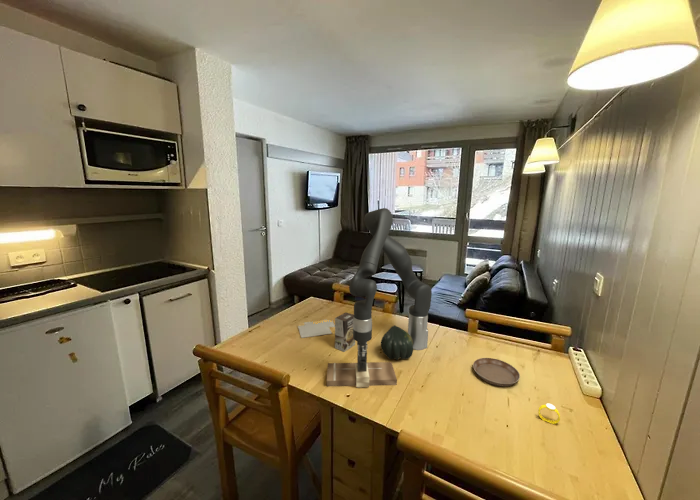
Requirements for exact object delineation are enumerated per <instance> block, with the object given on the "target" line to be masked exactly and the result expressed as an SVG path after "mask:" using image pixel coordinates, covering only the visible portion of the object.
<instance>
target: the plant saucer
mask: <svg viewBox="0 0 700 500" xmlns="http://www.w3.org/2000/svg"><path fill="white" fill-rule="evenodd" d="M472 363H473V364H472V367H473V369H474V371H475V373H476V374H477V376H478V377H479V378H480V379H481V380H483V381H484V382H486V383H488V384H491V385H493V386H497V387H509V386H512V385H514V384H516V383H517V382H518V381H520V377H521V376H520V373H519V370H517V368H515V366H513V365H512V364H510V363H508V362H506V361H504V360H501V359H498V358H491V357H481V358H477V359H476V360H474V361H473V362H472Z"/></svg>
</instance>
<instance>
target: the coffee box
mask: <svg viewBox="0 0 700 500" xmlns="http://www.w3.org/2000/svg"><path fill="white" fill-rule="evenodd" d="M353 319H354V313H350V312H344V313H342V314H340V315H338V316H336V317H334V325H335V327H334V348H335V350H339V351H341V352H344V353H345V352H346V351H348V350H350V349H351V348H353V347H354V346H356V340H354V338H353Z"/></svg>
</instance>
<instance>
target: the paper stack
mask: <svg viewBox="0 0 700 500" xmlns="http://www.w3.org/2000/svg"><path fill="white" fill-rule="evenodd" d="M313 321H314V320H313ZM313 321H312V322H311V321H304V322H303V324H304V325H303V324H302V325H298V326H297V328H298V330H299V331H298V332H299V335H300V337H301V339H302V338H304V339H305V338H309V337H311V338H312V337H317V336H323V335H330V334H333V332H332V330H331V329H330V328H335V322H334V321H333V320H332V322H330V320H329V322H328V321H327V322H324V321H323V323H322V322H321V323H318V324H315V323H314V324H313Z"/></svg>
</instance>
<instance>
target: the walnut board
mask: <svg viewBox="0 0 700 500" xmlns="http://www.w3.org/2000/svg"><path fill="white" fill-rule="evenodd" d="M355 363H356V362H328V363H327V369H326V370H327V371H326V387H356V371H355ZM367 366H368V372H369V387H371V386H397V385H398V384H397V383H398V378H397V375H396V372H395V368H394V365H393V362H391V361H385V362H383V361H379V362H378V361H376V362H375V361H374V362H371V361H369V362H368V361H367Z"/></svg>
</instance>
